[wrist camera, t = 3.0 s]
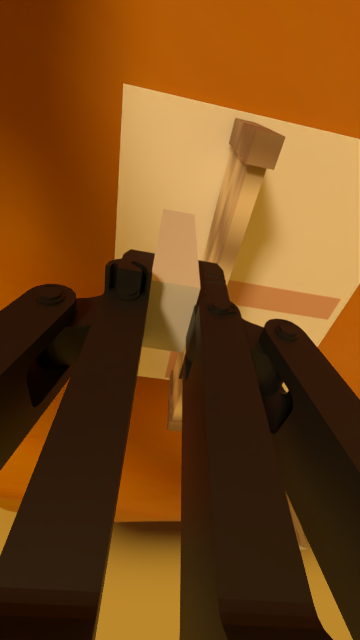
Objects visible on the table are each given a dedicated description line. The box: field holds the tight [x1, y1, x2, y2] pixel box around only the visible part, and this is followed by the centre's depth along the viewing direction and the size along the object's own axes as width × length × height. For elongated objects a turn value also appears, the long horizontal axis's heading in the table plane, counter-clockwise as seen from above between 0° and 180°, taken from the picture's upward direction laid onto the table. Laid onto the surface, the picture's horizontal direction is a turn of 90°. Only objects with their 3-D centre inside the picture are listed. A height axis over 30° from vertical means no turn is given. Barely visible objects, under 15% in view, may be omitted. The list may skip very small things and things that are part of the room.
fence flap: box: [202, 118, 285, 285], centre depth 25 cm, size 15×2×9 cm, turn 169°
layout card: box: [114, 84, 360, 392], centre depth 35 cm, size 28×34×1 cm
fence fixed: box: [167, 344, 186, 431], centre depth 35 cm, size 18×2×9 cm, turn 169°
